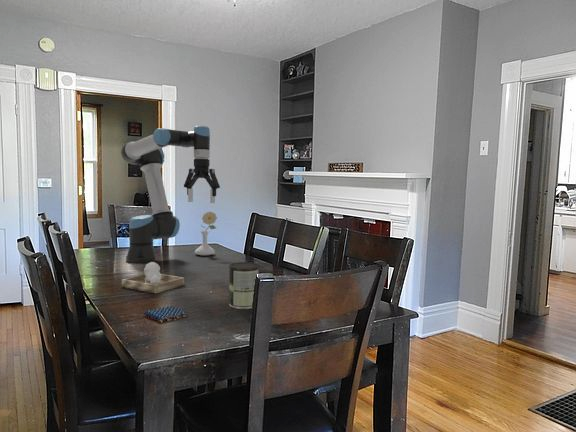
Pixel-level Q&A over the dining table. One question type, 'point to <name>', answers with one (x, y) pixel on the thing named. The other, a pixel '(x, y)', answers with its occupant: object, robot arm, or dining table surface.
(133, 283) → the birch tray
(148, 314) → the woven mat
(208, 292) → the dining table surface
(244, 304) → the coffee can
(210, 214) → the flower in vase
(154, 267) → the white rounded lump
